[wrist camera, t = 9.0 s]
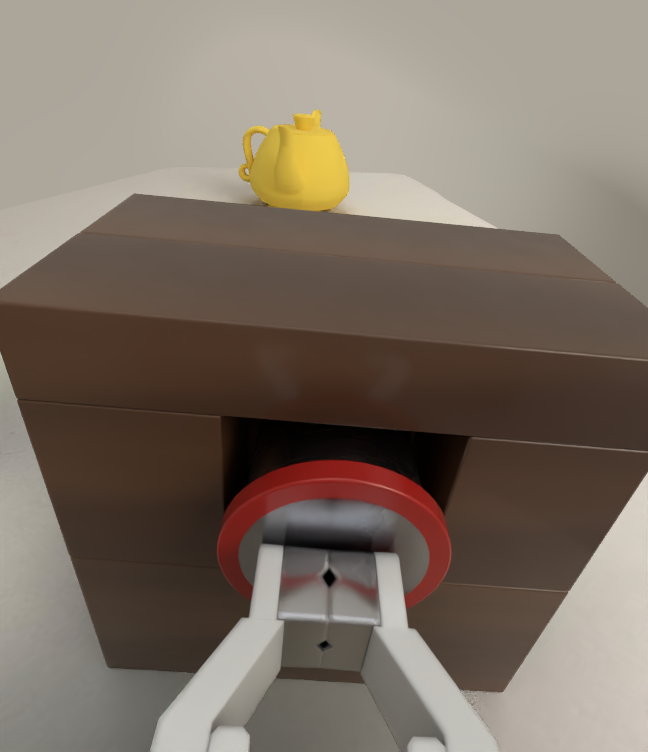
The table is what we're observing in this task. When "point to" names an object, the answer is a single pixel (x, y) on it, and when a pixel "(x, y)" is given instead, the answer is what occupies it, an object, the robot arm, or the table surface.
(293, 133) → the teapot
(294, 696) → the table surface
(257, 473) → the knob
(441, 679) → the robot arm
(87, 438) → the control box
